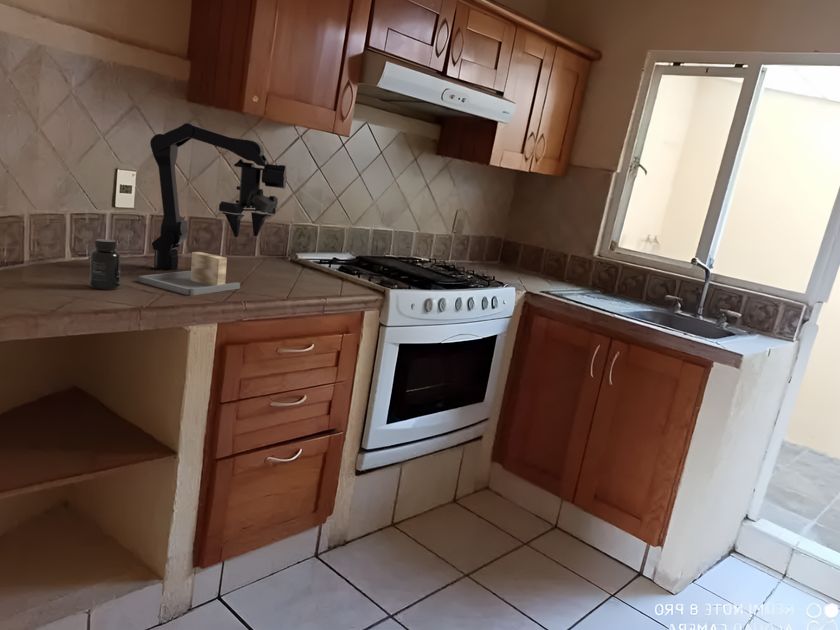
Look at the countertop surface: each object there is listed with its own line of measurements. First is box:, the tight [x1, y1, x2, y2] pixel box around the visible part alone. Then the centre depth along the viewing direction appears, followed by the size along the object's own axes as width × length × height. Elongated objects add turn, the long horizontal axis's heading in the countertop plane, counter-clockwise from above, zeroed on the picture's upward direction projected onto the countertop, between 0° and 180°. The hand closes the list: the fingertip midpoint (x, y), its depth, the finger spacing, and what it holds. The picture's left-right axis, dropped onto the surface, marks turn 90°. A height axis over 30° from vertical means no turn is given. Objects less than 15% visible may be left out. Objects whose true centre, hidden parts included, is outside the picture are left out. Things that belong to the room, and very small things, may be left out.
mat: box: [137, 270, 241, 297], centre depth 170 cm, size 19×18×2 cm
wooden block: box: [190, 251, 228, 286], centre depth 174 cm, size 10×3×8 cm, turn 64°
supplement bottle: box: [89, 238, 121, 291], centre depth 156 cm, size 7×7×12 cm
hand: (246, 236), depth 188 cm, fingers open, 8 cm apart
